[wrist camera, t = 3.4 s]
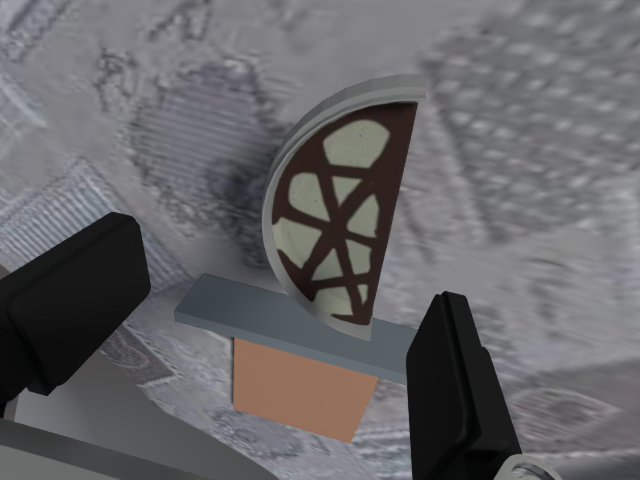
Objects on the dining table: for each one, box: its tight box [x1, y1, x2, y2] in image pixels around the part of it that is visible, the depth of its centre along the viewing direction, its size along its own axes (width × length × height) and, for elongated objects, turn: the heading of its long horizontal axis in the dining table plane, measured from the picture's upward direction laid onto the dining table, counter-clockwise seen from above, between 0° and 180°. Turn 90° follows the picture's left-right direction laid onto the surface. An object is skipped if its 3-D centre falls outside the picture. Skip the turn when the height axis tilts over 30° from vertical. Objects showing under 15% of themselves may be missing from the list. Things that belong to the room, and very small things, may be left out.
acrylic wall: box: [174, 274, 418, 385], centre depth 27 cm, size 22×1×5 cm, turn 81°
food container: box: [261, 75, 427, 341], centre depth 17 cm, size 12×6×10 cm, turn 176°
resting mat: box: [233, 338, 379, 443], centre depth 35 cm, size 15×15×1 cm
